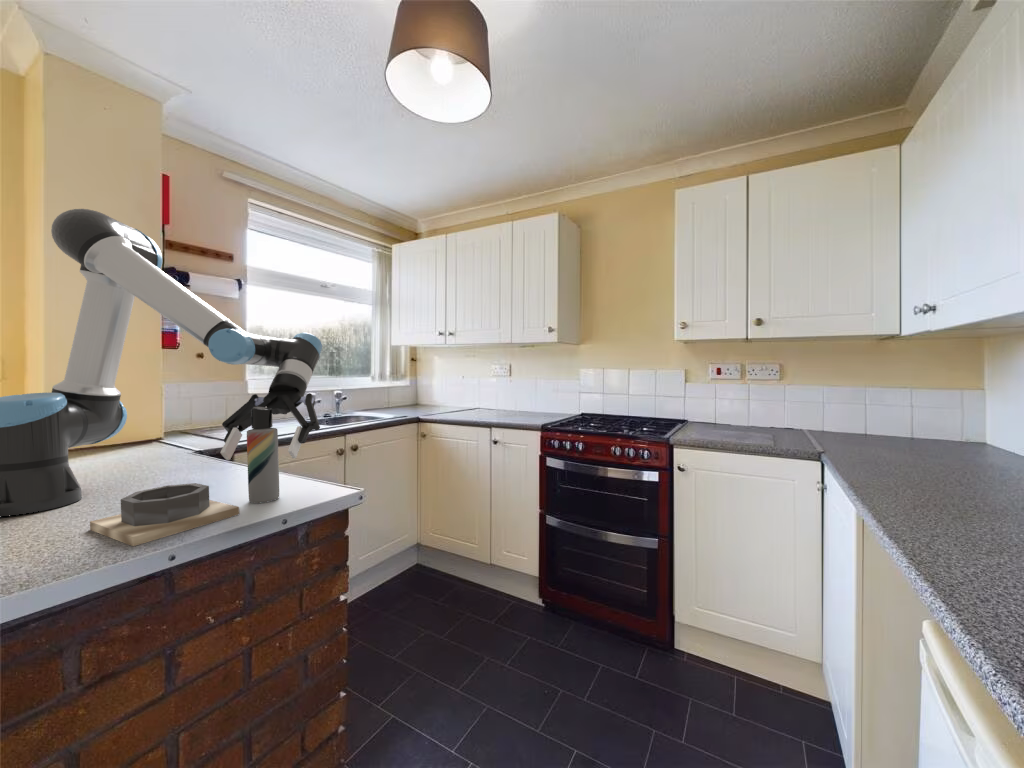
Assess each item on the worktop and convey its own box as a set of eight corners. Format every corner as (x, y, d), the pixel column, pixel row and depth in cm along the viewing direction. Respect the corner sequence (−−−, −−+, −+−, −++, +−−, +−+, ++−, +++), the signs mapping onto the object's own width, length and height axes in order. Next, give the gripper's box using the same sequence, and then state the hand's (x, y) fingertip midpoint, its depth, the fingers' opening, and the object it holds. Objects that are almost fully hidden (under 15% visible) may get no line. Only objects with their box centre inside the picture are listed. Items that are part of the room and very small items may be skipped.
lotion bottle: (262, 495, 92) (259, 405, 91) (285, 495, 91) (282, 405, 90) (242, 503, 86) (239, 408, 85) (266, 504, 85) (263, 408, 85)
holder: (90, 529, 72) (88, 498, 72) (194, 503, 86) (193, 477, 86) (133, 546, 65) (131, 511, 65) (239, 514, 79) (238, 486, 79)
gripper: (346, 391, 104) (324, 463, 90) (245, 393, 103) (206, 466, 88) (338, 370, 99) (313, 443, 84) (231, 372, 97) (187, 446, 83)
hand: (258, 455), depth 86 cm, fingers open, 13 cm apart
